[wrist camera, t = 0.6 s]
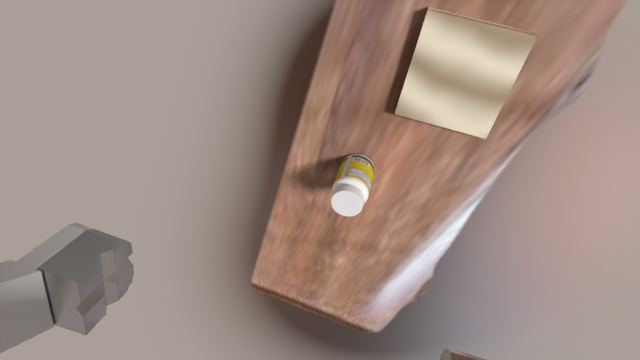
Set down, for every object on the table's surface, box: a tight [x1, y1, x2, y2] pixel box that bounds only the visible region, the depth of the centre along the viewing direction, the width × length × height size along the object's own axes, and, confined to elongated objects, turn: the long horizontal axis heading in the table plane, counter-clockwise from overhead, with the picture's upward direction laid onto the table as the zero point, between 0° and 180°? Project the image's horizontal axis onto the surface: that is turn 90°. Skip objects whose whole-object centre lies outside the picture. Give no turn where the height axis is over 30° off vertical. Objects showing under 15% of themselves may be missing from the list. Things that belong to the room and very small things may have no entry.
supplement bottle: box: [331, 154, 374, 216], centre depth 51 cm, size 5×5×8 cm
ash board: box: [395, 7, 537, 139], centre depth 43 cm, size 12×11×2 cm
